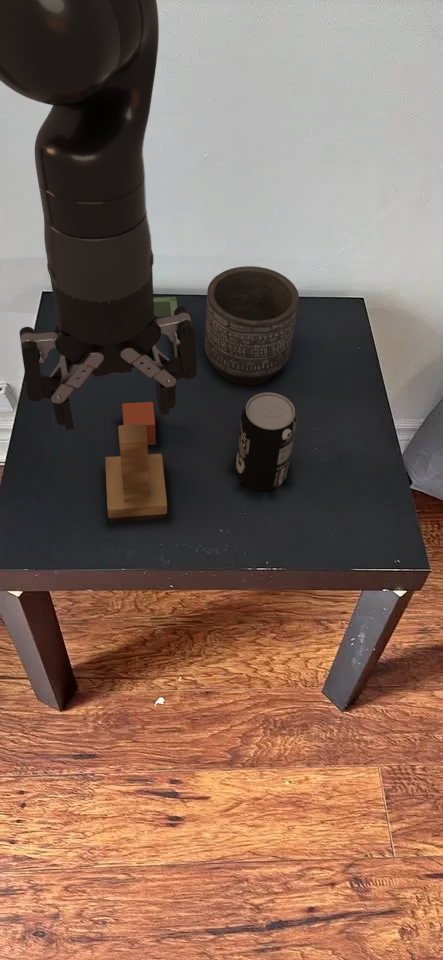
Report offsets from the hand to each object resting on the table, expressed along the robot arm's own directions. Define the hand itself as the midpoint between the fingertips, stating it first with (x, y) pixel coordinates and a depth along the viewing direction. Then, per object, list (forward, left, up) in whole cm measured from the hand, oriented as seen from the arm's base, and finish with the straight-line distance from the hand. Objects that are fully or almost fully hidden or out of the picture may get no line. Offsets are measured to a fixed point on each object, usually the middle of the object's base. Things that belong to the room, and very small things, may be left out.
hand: (116, 415), depth 68 cm
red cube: (+2, +19, -25) cm, 31 cm away
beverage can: (+17, +11, -25) cm, 32 cm away
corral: (+1, +38, -25) cm, 46 cm away
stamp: (+1, +9, -25) cm, 26 cm away
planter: (+18, +31, -25) cm, 44 cm away
